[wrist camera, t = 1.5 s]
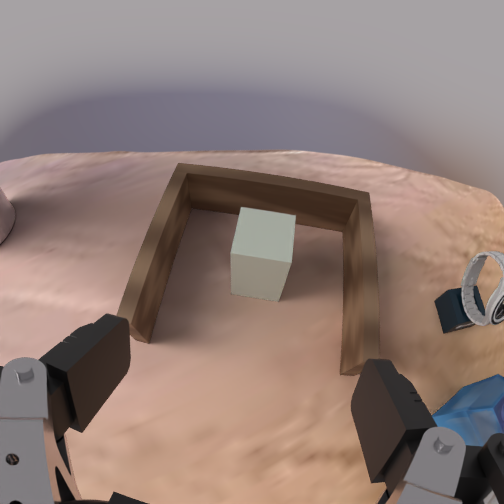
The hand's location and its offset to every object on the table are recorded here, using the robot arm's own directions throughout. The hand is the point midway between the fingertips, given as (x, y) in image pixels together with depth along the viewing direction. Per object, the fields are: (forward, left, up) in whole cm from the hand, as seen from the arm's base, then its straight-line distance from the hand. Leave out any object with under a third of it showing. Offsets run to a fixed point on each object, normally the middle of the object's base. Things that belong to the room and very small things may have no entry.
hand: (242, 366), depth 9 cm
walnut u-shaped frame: (-8, +11, -19) cm, 23 cm away
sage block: (-8, +11, -19) cm, 23 cm away
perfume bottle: (+21, +14, -19) cm, 32 cm away
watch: (+13, +25, -19) cm, 34 cm away
